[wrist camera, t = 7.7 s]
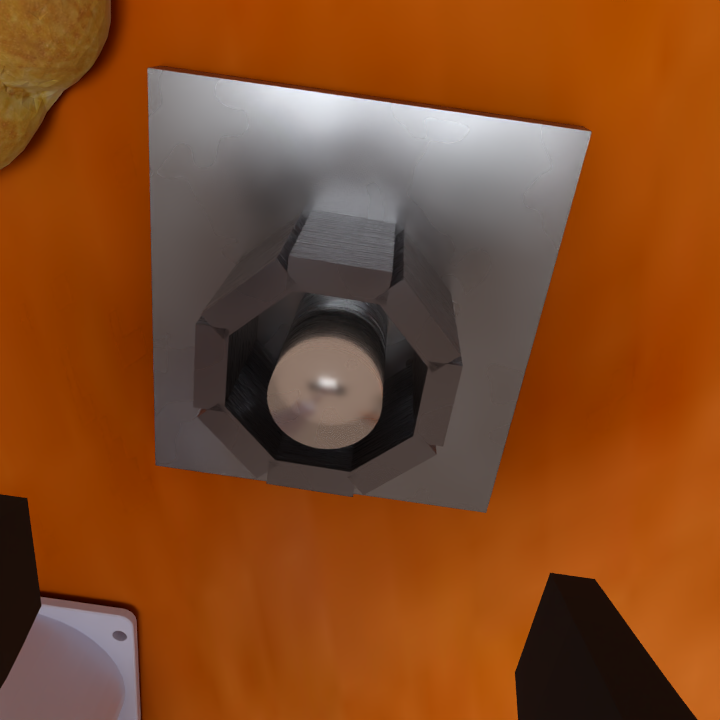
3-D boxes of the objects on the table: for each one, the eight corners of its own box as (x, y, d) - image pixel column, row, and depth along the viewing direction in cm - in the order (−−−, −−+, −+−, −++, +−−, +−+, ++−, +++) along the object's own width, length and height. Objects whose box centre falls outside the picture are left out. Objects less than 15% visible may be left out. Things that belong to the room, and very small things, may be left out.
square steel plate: (483, 495, 21) (503, 619, 16) (164, 449, 21) (100, 562, 16) (583, 126, 15) (650, 166, 11) (159, 65, 15) (64, 82, 11)
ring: (424, 426, 19) (428, 508, 15) (227, 396, 19) (191, 471, 15) (468, 234, 16) (482, 286, 13) (239, 198, 16) (198, 241, 13)
